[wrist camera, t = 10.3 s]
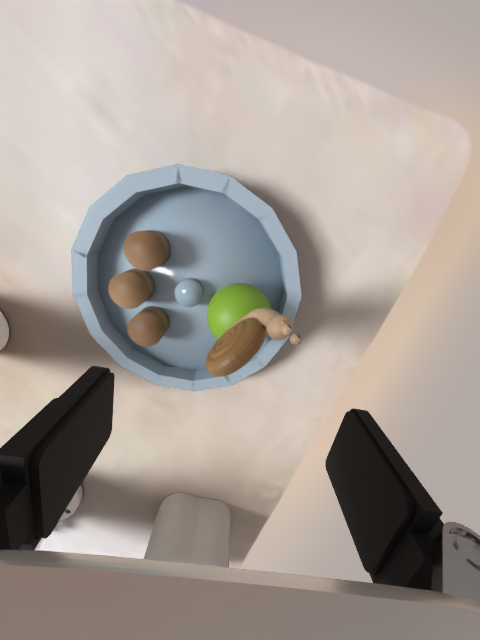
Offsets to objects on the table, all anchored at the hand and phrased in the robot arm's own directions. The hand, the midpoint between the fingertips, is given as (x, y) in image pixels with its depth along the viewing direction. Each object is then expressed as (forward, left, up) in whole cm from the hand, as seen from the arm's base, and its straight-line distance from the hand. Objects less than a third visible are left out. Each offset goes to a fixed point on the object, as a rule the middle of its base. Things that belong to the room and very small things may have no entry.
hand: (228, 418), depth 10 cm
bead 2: (0, +9, -15) cm, 17 cm away
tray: (+1, +4, -16) cm, 16 cm away
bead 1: (+4, +8, -15) cm, 17 cm away
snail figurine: (0, -1, -15) cm, 15 cm away
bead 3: (-3, +7, -15) cm, 17 cm away
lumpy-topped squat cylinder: (-35, 0, -16) cm, 38 cm away
